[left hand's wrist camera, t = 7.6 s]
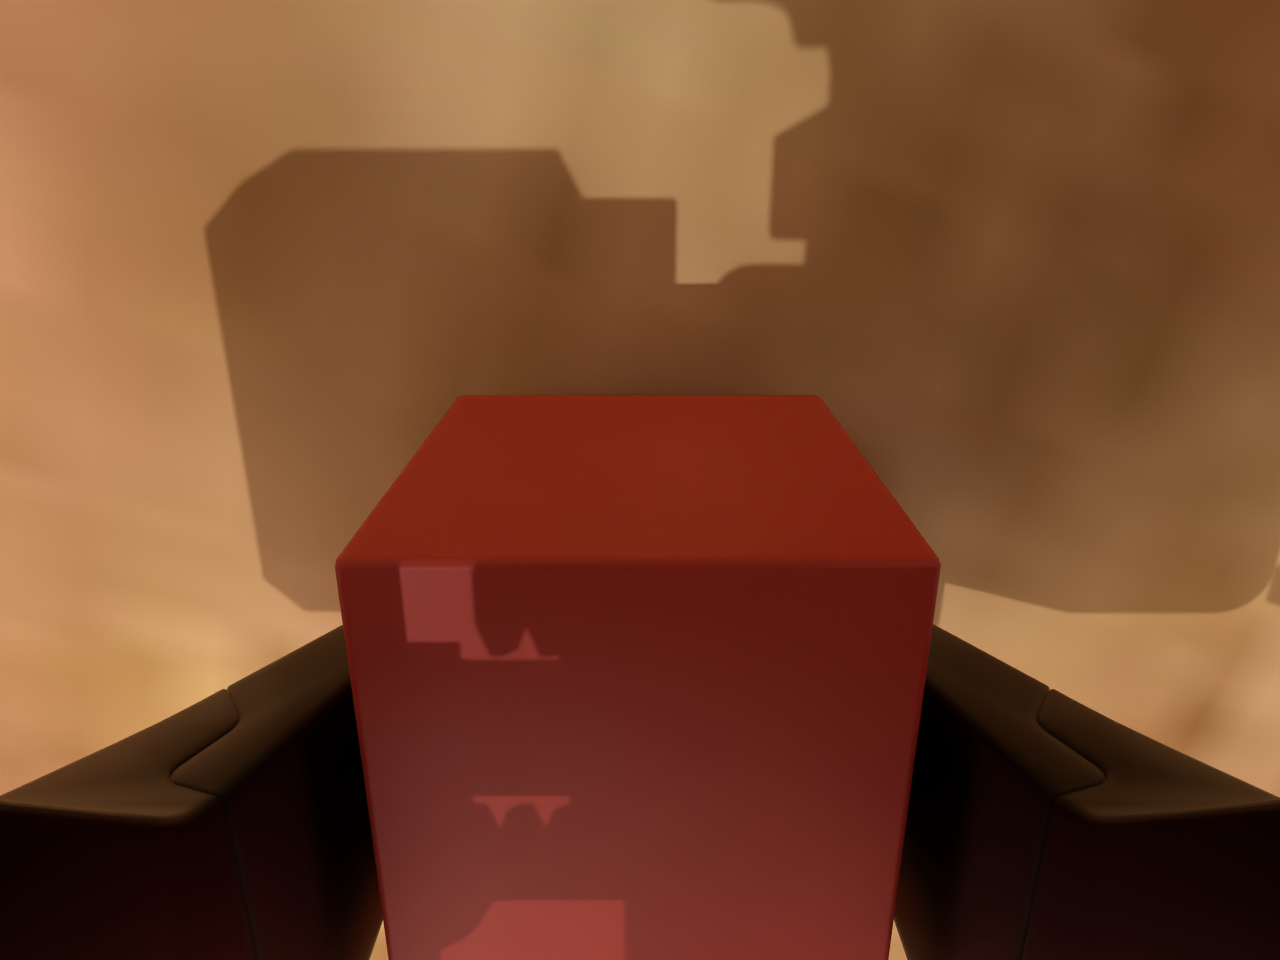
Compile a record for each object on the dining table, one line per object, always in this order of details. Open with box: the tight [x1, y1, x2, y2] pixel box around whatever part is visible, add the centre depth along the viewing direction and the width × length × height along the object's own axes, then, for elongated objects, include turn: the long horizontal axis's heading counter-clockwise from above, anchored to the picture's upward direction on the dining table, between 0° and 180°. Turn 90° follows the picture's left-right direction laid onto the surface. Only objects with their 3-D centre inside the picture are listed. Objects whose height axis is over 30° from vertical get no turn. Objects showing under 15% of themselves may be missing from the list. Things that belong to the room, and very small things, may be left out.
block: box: [335, 395, 941, 960], centre depth 10 cm, size 5×5×5 cm
